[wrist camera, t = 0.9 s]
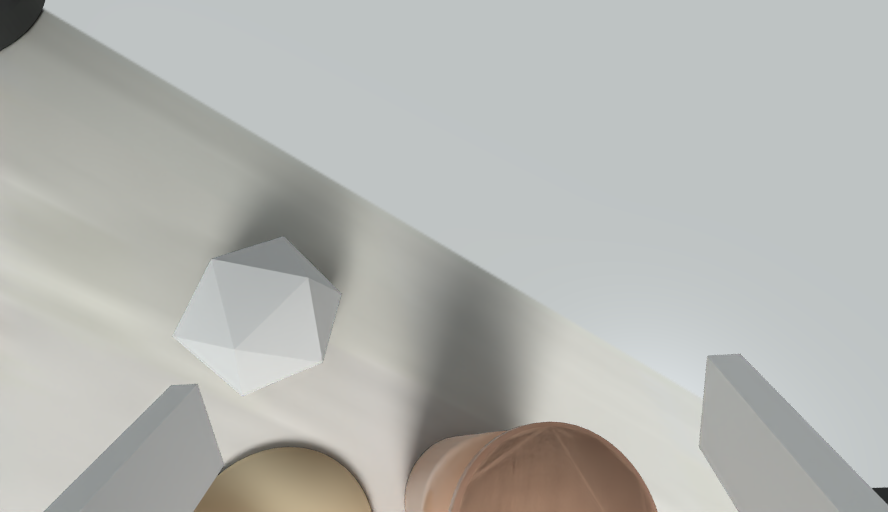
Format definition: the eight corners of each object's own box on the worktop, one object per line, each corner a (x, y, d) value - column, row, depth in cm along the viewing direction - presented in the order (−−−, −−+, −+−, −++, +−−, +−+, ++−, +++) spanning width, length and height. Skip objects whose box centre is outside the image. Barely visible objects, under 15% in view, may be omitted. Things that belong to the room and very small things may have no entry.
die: (355, 288, 34) (283, 185, 28) (369, 386, 28) (279, 283, 22) (253, 331, 35) (159, 240, 28) (244, 439, 28) (119, 352, 22)
